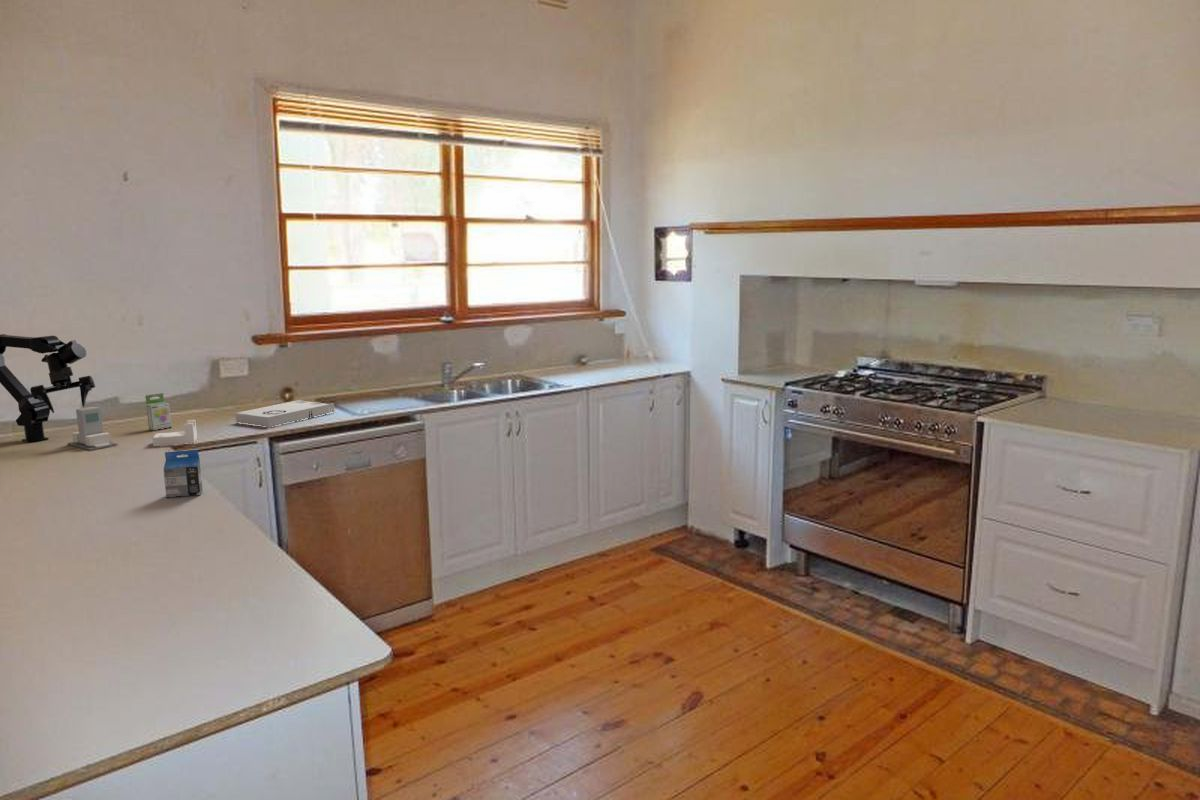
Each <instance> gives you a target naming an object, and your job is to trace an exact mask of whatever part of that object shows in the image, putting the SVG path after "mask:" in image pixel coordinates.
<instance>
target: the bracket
mask: <svg viewBox="0 0 1200 800" xmlns="http://www.w3.org/2000/svg"><path fill="white" fill-rule="evenodd" d="M197 439H198V431H197V423H196V419H188V420H186V423H184V431H174V432H160V433H159V432H158V433H155V434H154V436H153V437H152V443H153V445H152V446H153V447H154V446H160V447H168V446H167V445H174V444H185V443H195V441H196V442H197ZM195 444H196V443H195ZM165 445H166V446H165ZM174 446H175V445H174Z"/></svg>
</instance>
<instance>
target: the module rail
mask: <svg viewBox="0 0 1200 800" xmlns="http://www.w3.org/2000/svg"><path fill="white" fill-rule="evenodd" d="M71 434H72V440H73V441H71V442H67V445H68V444H70V445H69V446H72V445H73V446H72V447H75V446H76V448H79V447H80V448H79V449H82V448H83V449H82V450H87V451H89V450H90V451H89V452H91V450H92V451H96V449H97V450H101V448H102V449H106V448H105V447H108V448H111V447H110V446H113V447H116V446H115V445H119V444H118V443H115V442H112V436H111V433H109V432H107V431H106V432H103V433H100V434H94V435H88V436H85V441H86V444H83V443H80V438H79V431H75V432H72V433H71Z"/></svg>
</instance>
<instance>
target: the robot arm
mask: <svg viewBox="0 0 1200 800" xmlns="http://www.w3.org/2000/svg"><path fill="white" fill-rule="evenodd" d="M7 348H16V349H17V348H20V349H27V350H30V351H32V352H35V353H38V354H44V357H43V358H41V360H40V361H41V362H43V363H47V367H48V370H49V373H48V376H49V381H50V384H51V385H52V386H48V387H45V386H44V385H43V384H39V385H35V386H31V387H30V391H29V390H28V389H27V388H26V387H25V386H24V384H23V383H22V382H21V381H20V380H19V379H18V377H16V376H15V374H14V373H13V372H12V371H11V370H10V369H9V368H8V366H7V365H6V363H5V357H4V355H3V354H4V353H5V352H6V349H7ZM48 353H49V354H48ZM86 356H87V350H86V348H85V347H84V346H83V345H81V344H80V343H78V342H77V341H76V339H74V340H70V341H68V342H67V343H65V342H63V341H62V340H60V339H59V337H58V336H56V335H44V336H35V337H32V336H23V335H22V336H21V335H11V334H10V335H9V334H3V333H1V334H0V384H1V386H2V387H4V389H5V390H6V391H7V392H8V393H9V394H10V396H11V397H12V398H13V399H14V400H15V401H16V402H17V404H18V405H17V406H18V411H19V413H20V415H19V416H18V417H17V418H16V419H15V421H16V425H17V426H18V427H19V426H20V427H23V430H24V438H22V439H21V441H22V442H25V443H34V442H40V441H46V440H45V439H47V440H50V438H49V437H47V436H45V430H44V423H45V422H49V416H50V413H52V414H55V409H54V407H53V404H52V402H51V400H50V396H49V395H48V394H50V393H55V392H60V391H64V390H70V389H75V388H79V390H80V401H81V405H82V407H83V408H85V405H86V402H87V401H86V400H87V397H88V394H89V392H90V391H92V389H94V388H96V385H95V381H94V379H93V377H92V376H91V375H86V376H85V375H84V376H81V377H78V381H72V378H71V377H72V376H74V373H73V369H72V366H68V365H72V364H74V363H76V362H78V361H80V360H82V359H84V358H85V357H86Z"/></svg>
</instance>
